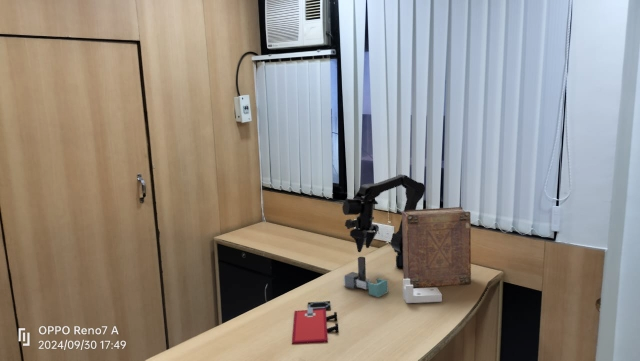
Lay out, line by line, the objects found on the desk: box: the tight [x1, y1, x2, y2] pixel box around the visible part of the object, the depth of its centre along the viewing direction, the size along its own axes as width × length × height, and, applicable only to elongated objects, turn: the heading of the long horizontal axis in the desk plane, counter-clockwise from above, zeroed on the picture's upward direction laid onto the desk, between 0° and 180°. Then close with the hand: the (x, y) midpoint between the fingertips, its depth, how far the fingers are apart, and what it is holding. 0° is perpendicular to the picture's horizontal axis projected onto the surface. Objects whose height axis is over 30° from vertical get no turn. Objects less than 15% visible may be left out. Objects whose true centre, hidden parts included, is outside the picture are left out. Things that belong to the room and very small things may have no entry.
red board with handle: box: [291, 300, 340, 345], centre depth 163 cm, size 30×3×15 cm
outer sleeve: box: [344, 271, 359, 290], centre depth 193 cm, size 4×5×5 cm
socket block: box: [368, 278, 389, 298], centre depth 185 cm, size 4×6×5 cm
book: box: [401, 206, 472, 289], centre depth 191 cm, size 25×9×30 cm, turn 94°
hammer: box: [343, 256, 372, 290], centre depth 191 cm, size 12×3×12 cm, turn 48°
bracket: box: [402, 278, 443, 304], centre depth 176 cm, size 13×7×8 cm, turn 90°
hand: (363, 250), depth 203 cm, fingers open, 9 cm apart
